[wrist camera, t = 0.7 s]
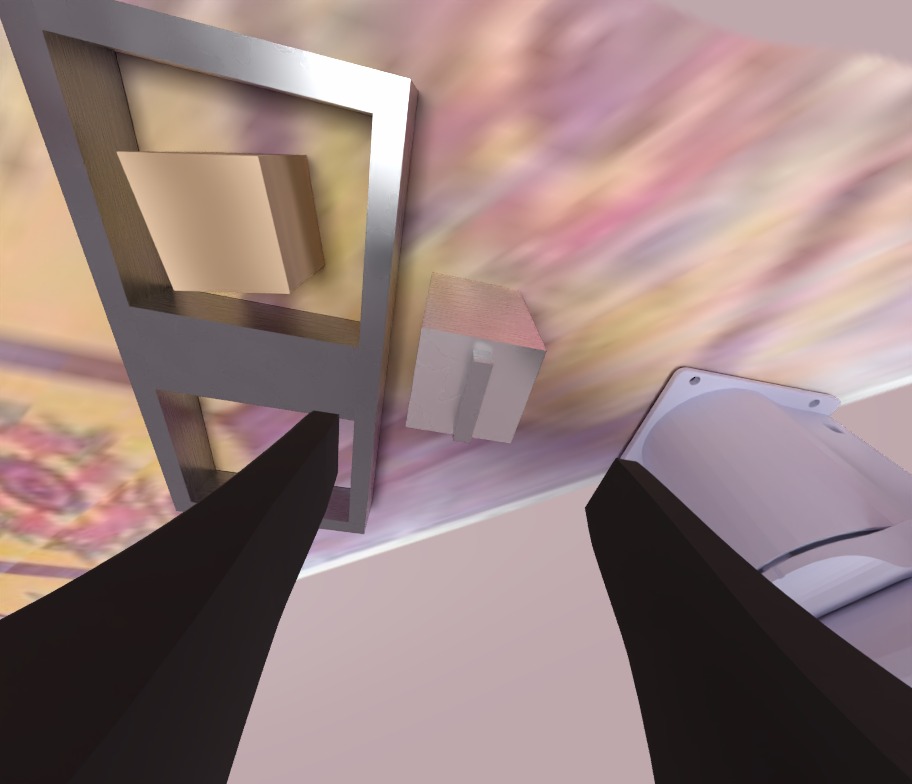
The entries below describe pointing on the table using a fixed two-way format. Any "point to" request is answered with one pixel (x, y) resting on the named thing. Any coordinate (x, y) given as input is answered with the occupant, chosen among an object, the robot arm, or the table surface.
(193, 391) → the grey slotted frame
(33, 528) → the table surface
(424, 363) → the grey block with tab
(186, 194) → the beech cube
